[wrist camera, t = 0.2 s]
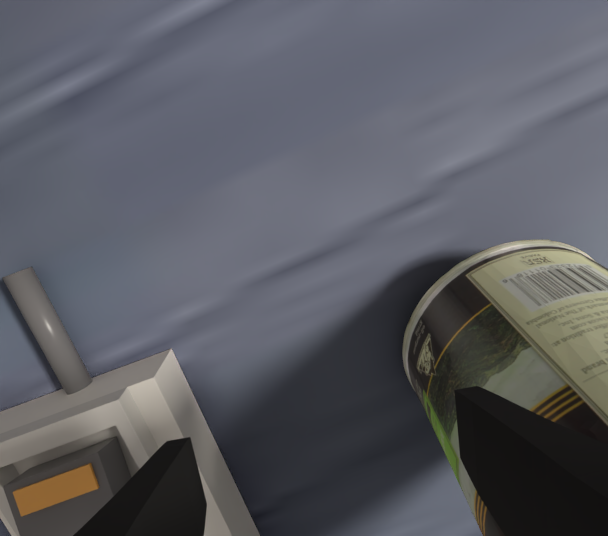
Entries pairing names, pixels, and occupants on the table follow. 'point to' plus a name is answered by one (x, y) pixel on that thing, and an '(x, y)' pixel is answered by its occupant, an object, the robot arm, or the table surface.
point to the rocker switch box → (110, 415)
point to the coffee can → (513, 343)
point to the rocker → (67, 490)
